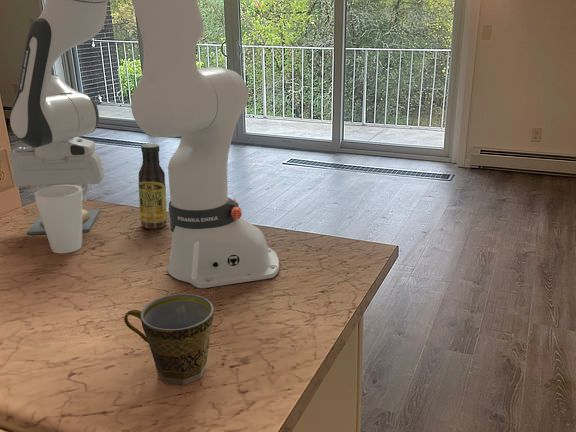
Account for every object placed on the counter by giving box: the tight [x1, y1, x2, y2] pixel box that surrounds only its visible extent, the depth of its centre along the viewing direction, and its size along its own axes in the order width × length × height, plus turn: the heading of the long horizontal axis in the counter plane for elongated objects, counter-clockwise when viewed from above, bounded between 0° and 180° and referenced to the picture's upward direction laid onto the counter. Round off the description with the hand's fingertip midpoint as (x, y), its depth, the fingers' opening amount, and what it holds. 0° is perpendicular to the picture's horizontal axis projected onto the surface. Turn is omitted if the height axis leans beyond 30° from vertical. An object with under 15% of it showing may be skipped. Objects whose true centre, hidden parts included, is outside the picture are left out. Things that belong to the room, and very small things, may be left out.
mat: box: [26, 208, 101, 235], centre depth 136 cm, size 14×14×1 cm
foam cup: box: [34, 185, 83, 254], centre depth 120 cm, size 10×9×13 cm
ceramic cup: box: [123, 293, 214, 386], centre depth 79 cm, size 13×10×10 cm
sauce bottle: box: [138, 143, 168, 230], centre depth 131 cm, size 7×6×20 cm
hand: (62, 201), depth 135 cm, fingers open, 8 cm apart
